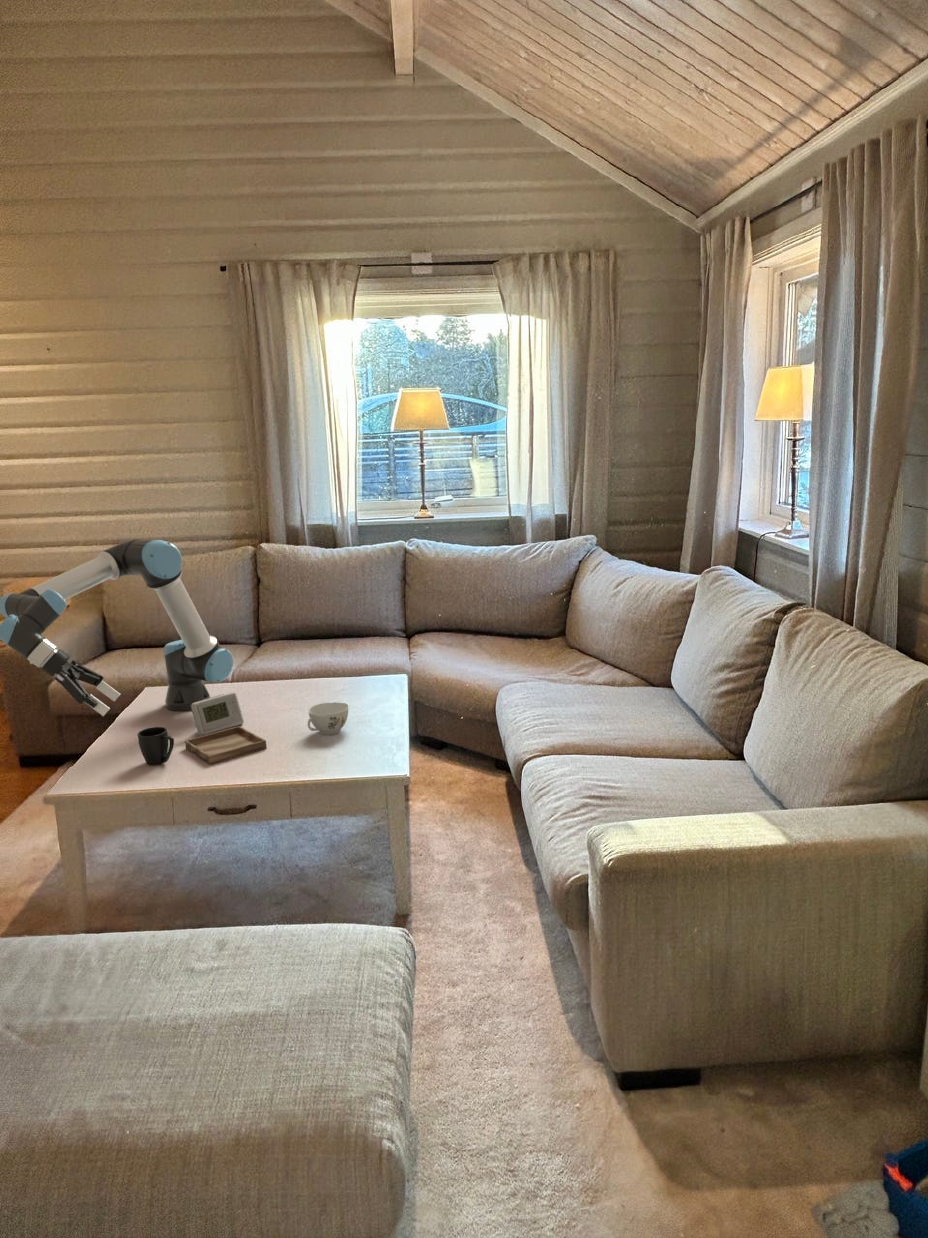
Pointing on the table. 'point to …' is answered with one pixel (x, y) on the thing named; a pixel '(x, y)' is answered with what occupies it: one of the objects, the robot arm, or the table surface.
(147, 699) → the table surface
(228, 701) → the digital clock
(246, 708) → the table surface
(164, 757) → the mug
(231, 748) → the walnut tray
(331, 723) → the teacup
